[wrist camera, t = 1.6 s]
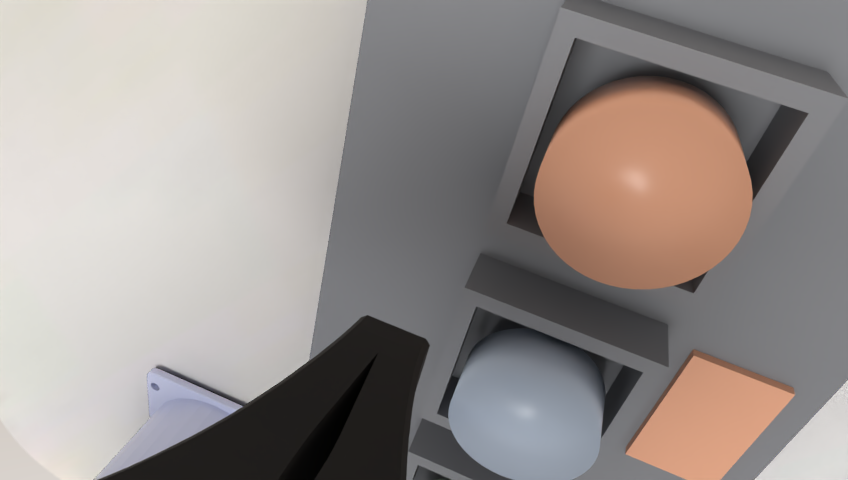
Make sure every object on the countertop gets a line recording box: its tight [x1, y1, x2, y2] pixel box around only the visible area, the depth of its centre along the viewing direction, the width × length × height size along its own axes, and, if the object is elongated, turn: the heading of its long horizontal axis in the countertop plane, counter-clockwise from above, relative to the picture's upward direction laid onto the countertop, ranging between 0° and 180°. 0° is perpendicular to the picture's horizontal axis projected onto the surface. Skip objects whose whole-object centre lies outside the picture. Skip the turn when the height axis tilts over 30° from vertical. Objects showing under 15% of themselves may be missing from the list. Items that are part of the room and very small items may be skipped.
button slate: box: [448, 328, 605, 480], centre depth 19 cm, size 4×4×2 cm
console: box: [309, 0, 848, 480], centre depth 20 cm, size 26×16×4 cm, turn 167°
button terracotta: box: [534, 76, 753, 289], centre depth 14 cm, size 4×4×2 cm
